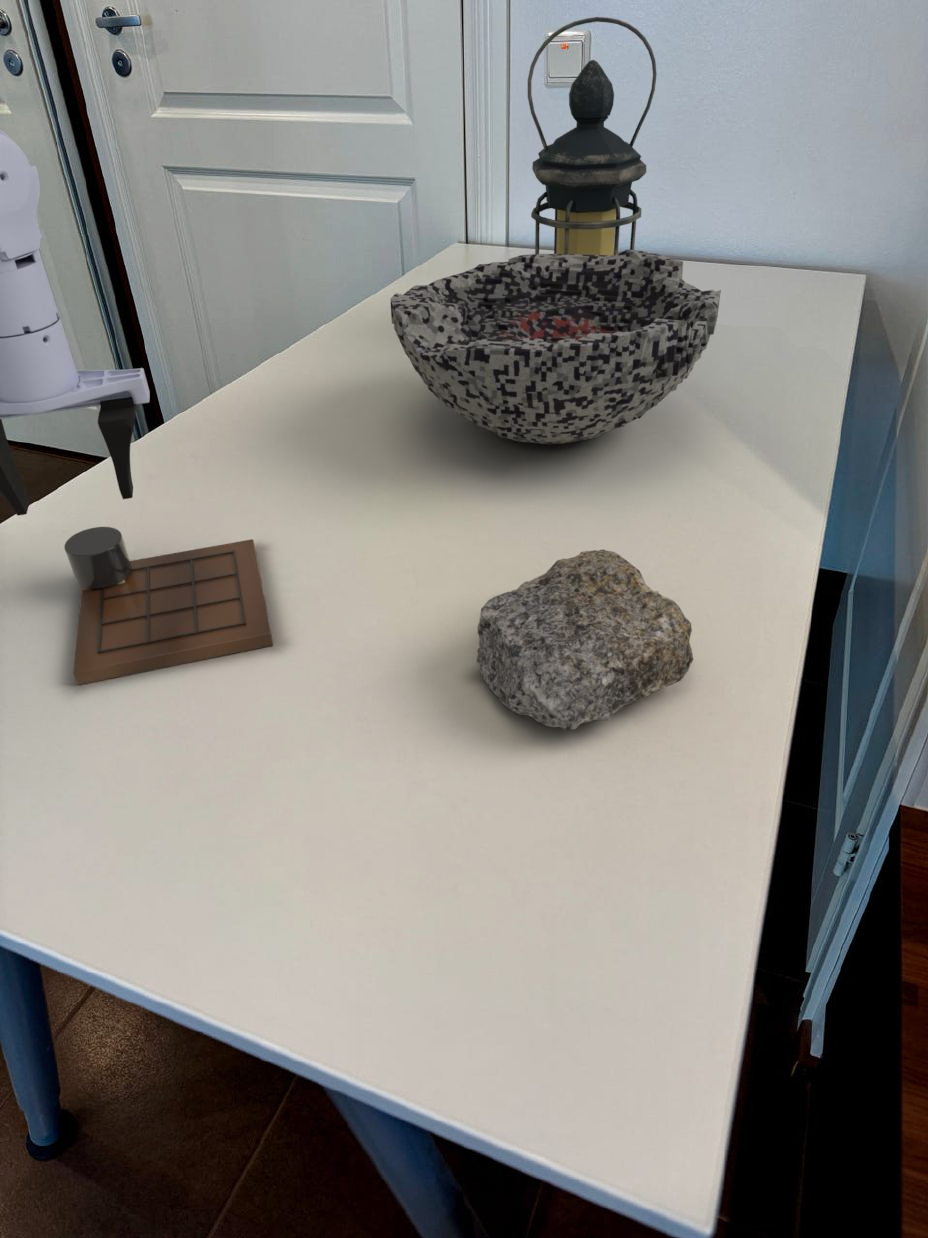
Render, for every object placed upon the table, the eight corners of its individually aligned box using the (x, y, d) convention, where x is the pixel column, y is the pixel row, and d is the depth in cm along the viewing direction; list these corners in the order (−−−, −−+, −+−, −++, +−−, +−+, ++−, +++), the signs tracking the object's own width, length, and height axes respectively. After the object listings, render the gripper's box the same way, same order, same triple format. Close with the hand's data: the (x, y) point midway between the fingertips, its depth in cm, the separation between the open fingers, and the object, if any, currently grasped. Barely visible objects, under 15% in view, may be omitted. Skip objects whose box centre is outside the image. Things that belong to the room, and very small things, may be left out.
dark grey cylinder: (87, 595, 69) (74, 562, 68) (68, 572, 72) (56, 539, 70) (140, 574, 72) (130, 541, 70) (120, 553, 74) (109, 520, 72)
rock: (545, 766, 55) (720, 683, 61) (551, 690, 51) (738, 609, 57) (443, 655, 64) (606, 592, 70) (442, 583, 60) (615, 522, 66)
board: (77, 685, 63) (71, 671, 62) (87, 580, 74) (82, 566, 73) (273, 645, 66) (270, 631, 65) (255, 550, 77) (252, 536, 76)
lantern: (626, 321, 120) (649, 9, 99) (645, 356, 109) (675, 16, 88) (522, 326, 120) (522, 15, 99) (530, 362, 109) (533, 22, 88)
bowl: (712, 383, 102) (732, 247, 93) (681, 518, 78) (703, 353, 69) (456, 361, 110) (450, 235, 101) (357, 478, 86) (339, 326, 77)
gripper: (128, 294, 64) (173, 463, 72) (-88, 318, 61) (-16, 491, 69) (124, 324, 58) (173, 504, 66) (-113, 352, 55) (-32, 536, 64)
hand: (76, 500), depth 67 cm, fingers open, 7 cm apart
